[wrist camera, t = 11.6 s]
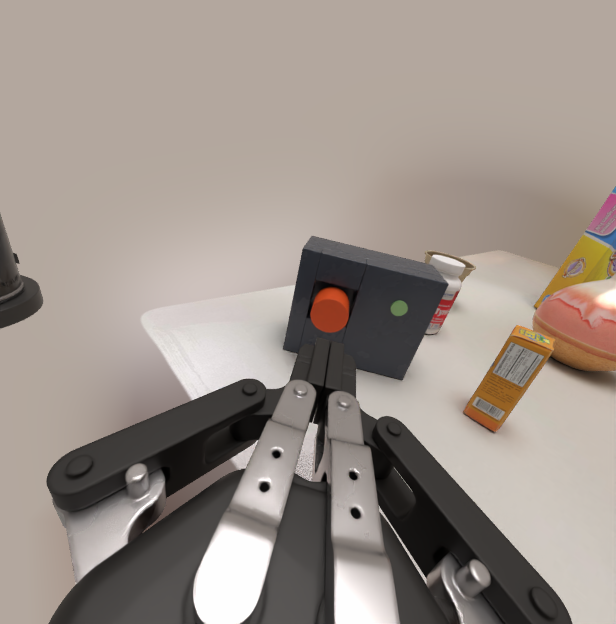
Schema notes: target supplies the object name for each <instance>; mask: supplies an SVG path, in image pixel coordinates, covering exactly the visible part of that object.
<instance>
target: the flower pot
mask: <svg viewBox="0 0 616 624" xmlns="http://www.w3.org/2000/svg"><path fill="white" fill-rule="evenodd" d="M425 254H426V257H425V263H426V264H429V262H430V260H431V258H432V256H433V255H441V256H445V257H449V258H452V259H455V260H457V261H459V262H461V263H463V264H465V266H466V267H465V269H464V271H463V273H462V275H460V276H459V277H458V278H459V279H460V281H461V283H462V282H463V280H464V279H465V277H466V276H468V275H469V274H470V273H471V271H472V270H475V269H476V266H475V265H473V264H472V263H470V262H468V261H466V260H463V259H461V258H458V257H456V256H452V255H449V254H446V253H442V252H437V251H425Z"/></svg>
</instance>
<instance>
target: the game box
mask: <svg viewBox="0 0 616 624" xmlns="http://www.w3.org/2000/svg"><path fill="white" fill-rule="evenodd" d="M615 273H616V187H615V188H614V190H613V191H612V192H611V194H610V195H609V197H608V198H607V200H606V202H605V203H604V204H603V206H602V207H601V209H600V211H599V212H598V213H597V215H596V216H595V218H594V219H593V221H592V223H591V224H590V226H589V227H588V228H587V230H586V231H585V233H584V234H583V236H582V237H581V239H580V240H579V241H578V243H577V244H576V246H575V247H574V249H573V250H572V252H571V253H570V255H569V256H568V257H567V259H566V261H565V262H564V263H563V265H562V266H561V268H560V269H559V271H558V272H557V273H556V275H555V276H554V278H553V279H552V281H551V282H550V284H549V285H548V287H547V288H546V289H545V291H544V292H543V294H542V295H541V297H540V298H539V300H538V301H537V302H536V304H535V305H534V307H535V308H538V307H539V306H540V304H541V303H542V302H543V301H544V300H545V299H547V298H548V297H549V296H550V295H552V294H553V293H555V292H557V291H559V290H561V289H564V288H566V287H569V286H573V285H576V284H581V283H586V282H592V281H599V280H605V279H610V278H611V277H612V276H613V275H614V274H615Z"/></svg>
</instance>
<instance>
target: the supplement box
mask: <svg viewBox="0 0 616 624" xmlns="http://www.w3.org/2000/svg"><path fill="white" fill-rule="evenodd" d="M554 343H555V339H553V338H551V337H548V336H545V335H543V334H541V333H538V332H535V331H533V330H530V329H527V328H525V327H522V326H519V325H517V326H516V327H515V328H514V330H513V331H512V333H511V334H510V336H509V338H508V340H507V341H506V343H505V345H504V346H503V348H502V349H501V351H500V353H499V354H498V356H497V358H496V359H495V361H494V362H493V364H492V366H491V367H490V369H489V370H488V372H487V374H486V375H485V377H484V379H483V380H482V382H481V383H480V385H479V387H478V388H477V390H476V391H475V393H474V394H473V396H472V398H471V399H470V401H469V402H468V404H467V406H466V408H465V410H464V414H466V415H467V416H469V417H470V418H472V419H473V420H475V421H477V422H478V423H480V424H482V425H483V426H485V427H486V428H488V429H490V430H492V431H494V432H496V431H497V430H498V429H499V428H500V427H501V425H502V424H503V422H504V421H505V420H506V418H507V417H508V416H509V414H510V413H511V411H512V410H513V409H514V407H515V406H516V404H517V403H518V401H519V400H520V399H521V397H522V396H523V394H524V393H525V392H526V390H527V389H528V387H529V386H530V384H531V383H532V381H533V380H534V379H535V377H536V376H537V374H538V373H539V371H540V370H541V369H542V367H543V366H544V364H545V363H546V361H547V360H548V358H549V357H550V355H551V354H552V351H554V348H553V345H554Z"/></svg>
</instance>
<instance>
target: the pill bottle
mask: <svg viewBox="0 0 616 624" xmlns="http://www.w3.org/2000/svg"><path fill="white" fill-rule="evenodd" d="M429 264H430V265H433V266H434V267H435V268H436V270H437V271H438V272H439V273H440V274H441V275H442V277H443V278H444V279H445V280H446V281H447V283H448V284H449V285H448V287H447V289H446V291H445V293H444V295H443V297H442V299H441V302H440V304H439V306H438V308H437V310H436V312H435V314H434V316H433V318H432V320H431V322H430V324H429V326H428V328H427V330H426V332H425V334H435V333H437V332H438V331H439V330H440V328H441V326H442V324H443V322H444V320H445V318H446V316H447V314H448V313H449V311H450V308H451V307H452V305H453V303H454V301H455V299H456V297H457V295H458V293H459V291H460V289H461V287H462V283H461V281H460V279H459V278H458V277H459V276H460V275H462V273H463V271H464V269H465V267H466V266H465V264H463V263H461V262H459V261H457V260H455V259H452V258H449V257H445V256H441V255H433V256H432V258H431V260H430V262H429Z"/></svg>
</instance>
